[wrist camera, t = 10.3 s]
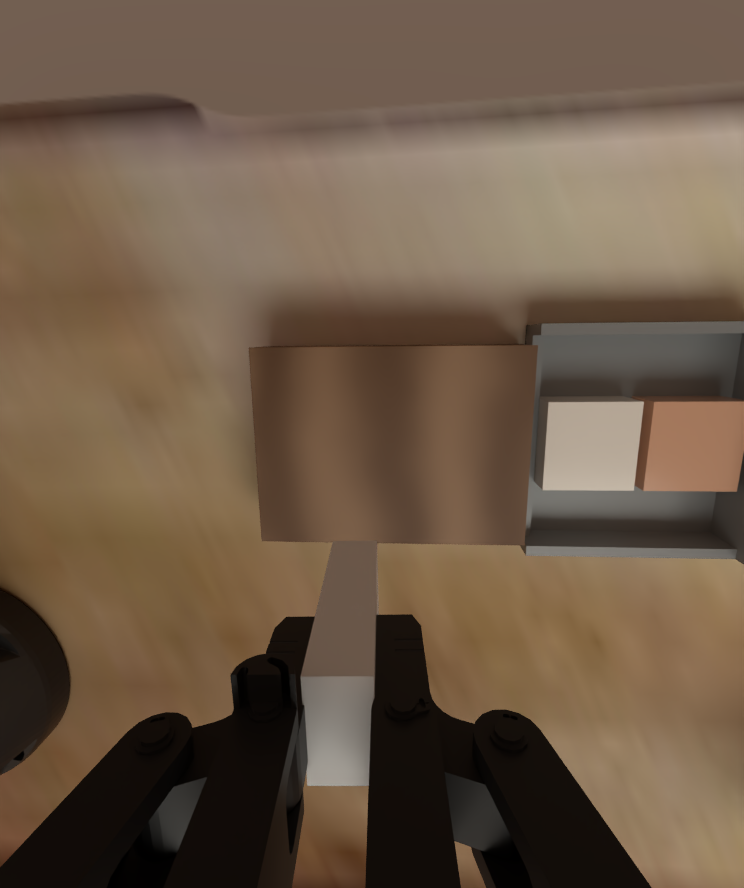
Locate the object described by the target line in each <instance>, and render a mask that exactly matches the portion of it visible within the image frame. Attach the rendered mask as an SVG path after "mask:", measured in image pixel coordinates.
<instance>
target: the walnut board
mask: <svg viewBox="0 0 744 888" xmlns="http://www.w3.org/2000/svg"><path fill="white" fill-rule="evenodd" d="M537 353H538V345H523V344H494V345H382V346H270V347H254V348H249V358H250V373H251V388H252V403H253V418H254V433H255V448H256V463H257V478H258V493H259V508H260V523H261V538H262V541H284V542H333V541H377V543H408V544H470V545H525V531H526V516H527V501H528V486H529V471H530V457H531V442H532V427H533V412H534V398H535V383H536V368H537Z"/></svg>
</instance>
